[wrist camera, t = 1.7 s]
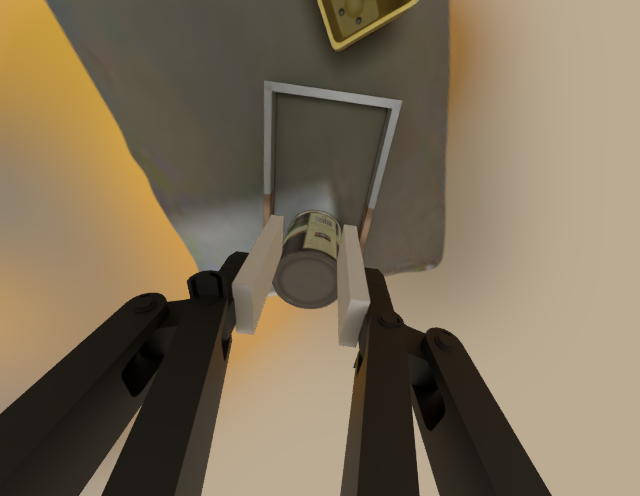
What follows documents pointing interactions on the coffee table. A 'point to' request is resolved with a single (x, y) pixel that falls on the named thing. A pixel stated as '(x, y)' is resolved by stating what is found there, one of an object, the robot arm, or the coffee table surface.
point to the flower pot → (365, 3)
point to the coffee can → (309, 261)
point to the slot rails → (363, 227)
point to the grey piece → (274, 87)
